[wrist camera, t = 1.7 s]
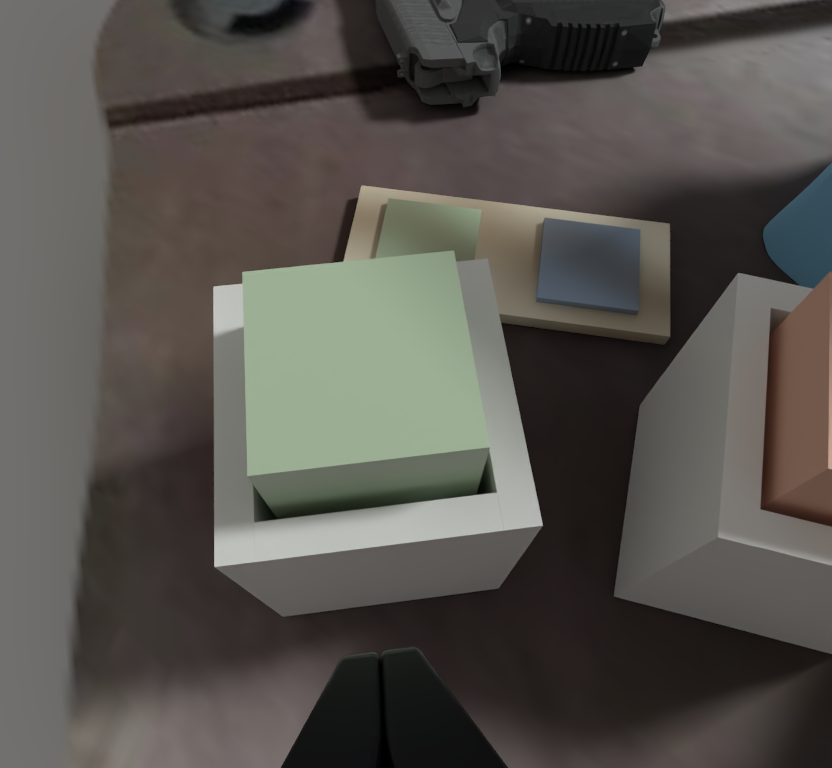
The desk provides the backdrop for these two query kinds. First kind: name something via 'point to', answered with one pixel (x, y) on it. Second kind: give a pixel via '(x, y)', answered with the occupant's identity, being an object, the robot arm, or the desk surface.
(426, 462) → the green key
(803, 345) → the terracotta key
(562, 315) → the board
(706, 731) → the desk surface
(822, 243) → the vase
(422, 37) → the handgun
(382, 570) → the keypad
